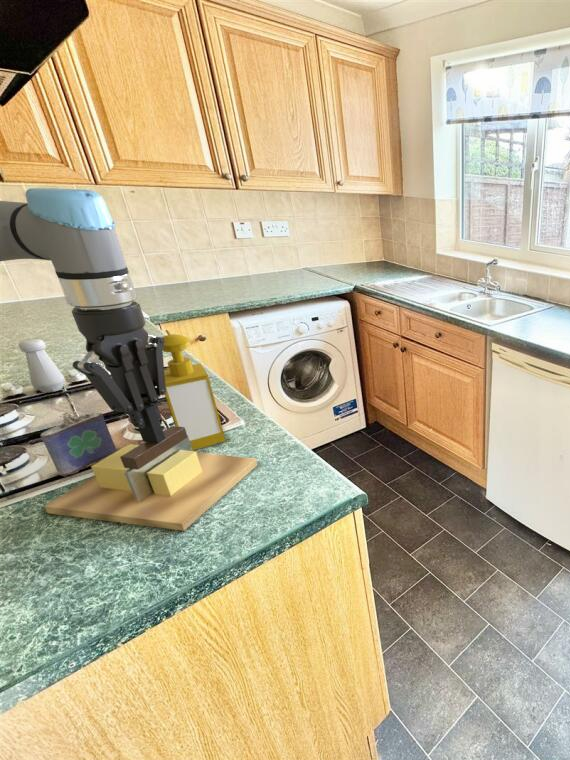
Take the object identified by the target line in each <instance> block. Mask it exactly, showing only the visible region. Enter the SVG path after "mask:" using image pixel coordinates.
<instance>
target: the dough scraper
mask: <svg viewBox="0 0 570 760" xmlns="http://www.w3.org/2000/svg"><path fill="white" fill-rule="evenodd" d="M163 432H164V435H165V439H164V440H162V441H161V442H159V443H154V442H144V441H143V442H142V443H141V444H138V445H139V446H138V447H136V448H134V449H133V450H131V451H129V452H127V453H126V454H124V455H122V456H121V457H120V458H121V460H122V463H123V465H124V468H130V469H129V470H127V471H126V472H124V473H125V476H126V478H127V481H128V483H129V486H130V488H131V491H132V493H133V495H134V498H135V500H136V502H140V501H141V500H143V499H144V498H145V497H147V496H148V495H149V494H151V493H152V492H154V490H153V488H152V485H151V483H150V480H149V477H148V475H147V473H148V472H149V471H151V470H152V469H154V468H155V467H157V466H158V465H160V464H161V463H162V462H164V461H165V460H167V459H168V458H170V457H171V456H173V455H174V454H176V453H177V452H179V451H180V450H185V451H194V450H192V447H191V444H190V440H189V437H188V434H187V433H186V430H185V427H178V426H175V425H171V426H170V427H168V428H165V429H164V430H163Z"/></svg>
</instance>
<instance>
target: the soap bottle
mask: <svg viewBox="0 0 570 760" xmlns="http://www.w3.org/2000/svg"><path fill="white" fill-rule="evenodd" d="M164 332H165V333H166V334H167V335H164V336H162V337H163V338H164V339H165V343H164V347H163V353H164V352H165V353H171V357H172V359H170V360H168V361H167V366H168V368H167V369H164V374H165V385H166V393H165V394H164V396H165V400H166V403H167V405H168V406H167V407H168V409H169V411H170V415H171V418H172V422H173V424H174V426H178V427H185V430H186V433H187V434H188V437H189V440H190V444H191V447H192V450H193V451H196V450H199V449H203V448H206V447H210V446H214V445H217V444H220V443H223V442H226V441H227V440H226V437H225V434H224V429H223V426H222V422H221V419H220V418H221V417H220V414H219V411H218V407H217V403H216V400H215V397H214V393H213V389H212V385H211V381H210V377H209V374H208V373H207V371H206V369H205V368H204V366H203V365H202V363H196V364H192V361H191V359H190V357H184V356H183V353H182V351H184V350H186V349H188V343H189V342H191V338H190V337H188V336H186V335H183V334H177V333H176V334H175V333H173V334H172V333H171V332H170V331H169V330H168V329H165V331H164Z"/></svg>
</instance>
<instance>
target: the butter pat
mask: <svg viewBox="0 0 570 760" xmlns="http://www.w3.org/2000/svg"><path fill="white" fill-rule="evenodd" d="M196 452H197V451H195V450H193V451H185V450H180V451H179V452H177V453H176V454H174V455H173V456H171V457H170V458H168V459H167V460H165V461H164V462H162V463H161V464H160V465H158V466H157V467H155V468H154V469H152V470H151V471H149V472H148V473H147V475H148V477H149V480H150V483H151V485H152V488H153V490H154V493H155V494H158V495H167V496H172V495H173V494H174V493H175V492H177V491H178V490H179V489H181V488H182V487H183V486H184V485H186V484H187V483H188V482H190V481H191V480H192V479H193V478H195V477H196V476H197V475H199V474H200V473H201V472H202V469H201V466H200V463H199V460H198V456H197V453H196Z"/></svg>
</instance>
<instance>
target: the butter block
mask: <svg viewBox="0 0 570 760" xmlns="http://www.w3.org/2000/svg"><path fill="white" fill-rule="evenodd" d="M139 445H140V444H133V443H132V444H131V443H129V444H127V445H125V446H124V447H122V448H120V449H119V450H116V451H117V452H115V453H113V454H111V455H110V456H108V457H106V458H103V459H102V460H101V461H97V462H95V463H94V464H93V465H91V466H90V467H91V469H92V472H93V474H94V476H96V479H97V481H98V483H99V485H100V487H102V488H110V489H118V490H126V491H131V488H130V486H129V483H128V481H127V478H126V476H125V473H124V472H126V471H127V470H129V469H130V468H124V465H123V463H122V460H121V458H120V457H121V456H122V455H124V454H126V453H127V452H129V451H131V450H133V449H134V448H136V447H138V446H139Z"/></svg>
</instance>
